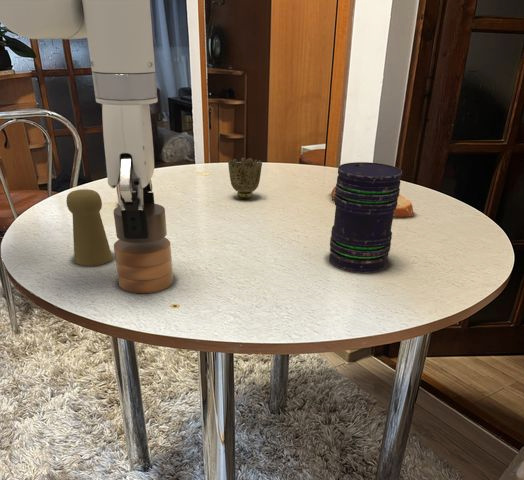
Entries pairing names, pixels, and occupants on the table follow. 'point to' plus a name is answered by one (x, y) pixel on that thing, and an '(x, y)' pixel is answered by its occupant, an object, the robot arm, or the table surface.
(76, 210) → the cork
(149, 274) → the pile chip
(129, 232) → the robot arm
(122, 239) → the walnut chip
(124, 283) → the pile chip
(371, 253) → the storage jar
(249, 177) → the cup
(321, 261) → the table surface
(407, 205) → the bread slice
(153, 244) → the pile chip
